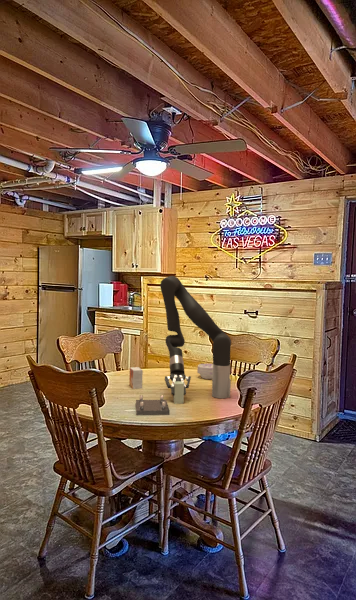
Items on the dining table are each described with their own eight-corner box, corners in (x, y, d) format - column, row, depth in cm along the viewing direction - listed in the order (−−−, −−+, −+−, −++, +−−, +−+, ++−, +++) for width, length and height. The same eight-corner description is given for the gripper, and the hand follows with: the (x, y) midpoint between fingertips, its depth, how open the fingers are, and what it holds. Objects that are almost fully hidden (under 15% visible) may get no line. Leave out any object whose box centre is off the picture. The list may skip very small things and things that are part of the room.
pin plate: (166, 403, 209) (166, 393, 208) (169, 414, 192) (169, 404, 192) (135, 403, 207) (136, 393, 207) (136, 415, 190) (136, 404, 190)
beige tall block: (182, 400, 215) (182, 381, 214) (183, 403, 210) (184, 383, 209) (173, 400, 214) (174, 381, 214) (174, 403, 209) (175, 383, 209)
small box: (129, 385, 242) (129, 367, 241) (138, 384, 244) (138, 366, 243) (132, 389, 234) (133, 370, 234) (142, 388, 236) (142, 369, 236)
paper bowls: (209, 373, 277) (210, 362, 277) (226, 378, 266) (226, 366, 265) (192, 376, 268) (192, 364, 267) (208, 381, 256) (208, 368, 256)
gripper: (163, 362, 218) (165, 391, 207) (191, 362, 220) (194, 391, 208) (162, 369, 224) (164, 398, 212) (189, 370, 225) (192, 398, 214)
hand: (178, 394), depth 210 cm, fingers open, 4 cm apart
